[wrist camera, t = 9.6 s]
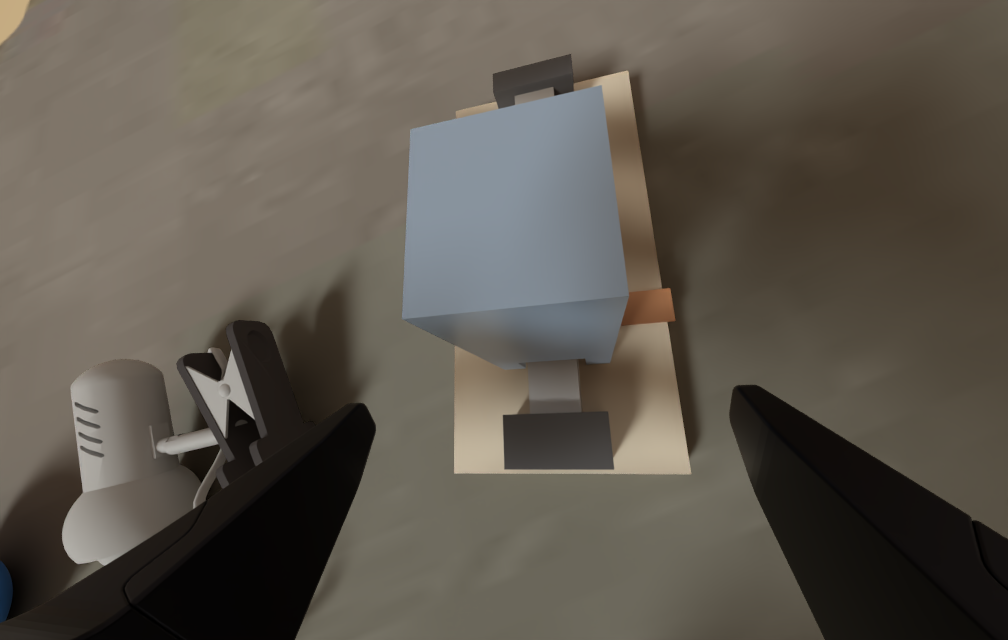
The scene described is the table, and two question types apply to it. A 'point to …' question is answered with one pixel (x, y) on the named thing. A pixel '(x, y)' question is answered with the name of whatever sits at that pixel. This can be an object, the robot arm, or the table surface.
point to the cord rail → (571, 383)
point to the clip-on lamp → (171, 438)
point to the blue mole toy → (5, 592)
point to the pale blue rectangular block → (517, 233)
